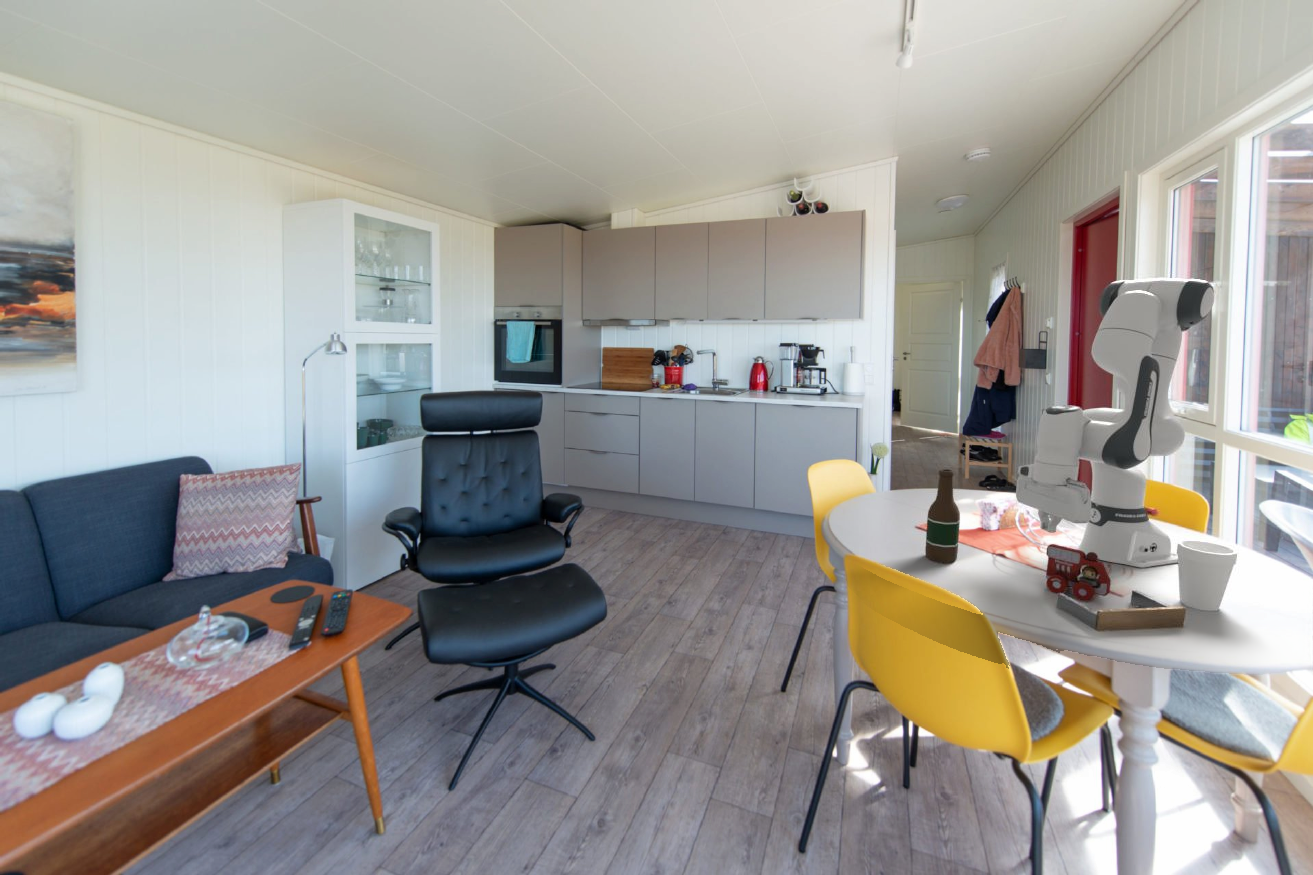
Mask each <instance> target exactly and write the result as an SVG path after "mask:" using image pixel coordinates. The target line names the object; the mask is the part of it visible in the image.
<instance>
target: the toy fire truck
mask: <svg viewBox="0 0 1313 875" xmlns="http://www.w3.org/2000/svg"><path fill="white" fill-rule="evenodd" d="M1046 556H1047V565H1046V574H1045V579H1046V587H1047V589H1048V590H1049V591H1050V592H1052V593H1054V594H1057V595H1058V593H1063V594H1065V592H1067V591H1068V590H1069V588H1072V589H1071V591H1072V595H1073V596H1074V597H1075V598H1076V599H1077V600H1079V601H1082V602H1090V601H1092V600H1093V599H1094V598H1095V596H1101V597H1106V596H1108V595H1109V594H1110V592H1111V591H1110V589H1111V582H1112V580H1111V578H1110V576H1109V572H1108V571H1107V568H1106V567H1105V564H1104V563H1103V562H1102V560H1099V559H1098V556H1097V554H1096V553H1094V552H1089V553H1088V554H1087V555H1085V553H1084V552H1083V551H1081V550H1078V549H1076V548H1072V547H1071V548H1070V547H1067V546H1062V545H1059V544H1055V543H1050V544H1049V545H1047V547H1046ZM1080 575H1081V576H1080ZM1078 578H1079V579H1078Z"/></svg>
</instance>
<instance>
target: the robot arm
mask: <svg viewBox="0 0 1313 875" xmlns="http://www.w3.org/2000/svg"><path fill="white" fill-rule="evenodd" d="M1214 301H1215V291H1214V286H1212V284H1211V283H1210V282H1209V281H1206V280H1203V279H1198V278H1197V279H1195V278H1190V279H1185V278H1173V277H1172V278H1169V277H1166V278H1165V277H1157V278H1146V279H1133V280H1129V279H1123V280H1115V281H1113V282H1111V283H1110V284H1108V285H1107V286H1105V288H1104V289H1103V290H1102V292H1101V294H1100V297H1099V300H1098V312H1099V314H1100V316H1101V317H1102V320H1101V322H1100V324H1099V327H1098V329H1097V332H1096V334H1095V336H1094V339H1093V342H1092V344H1091V357H1092V360H1093V361H1094V362H1095V364H1096V365H1097V366H1098V367H1099V368H1101V369H1102V370H1103V371H1105V372H1107V373H1109V374H1111V375H1113V376H1114V378H1113V384H1114V387H1115V388H1116V390H1118V391H1119V392H1120V393H1122V394H1123V396H1124V398H1125V407H1124V409H1120V408H1111V407H1098V408H1097V407H1096V408H1095V407H1094V408H1088V409H1084V410H1083V409H1082V407H1080V406H1077V405H1067V404H1065V405H1052V406H1050V407H1047V408H1046V409H1044V410H1043V412H1042V415H1041V417H1040V420H1039V423H1038V428H1037V434H1036V445H1037V446H1036V447H1037V452H1036V455H1035V457H1034V460H1033V463H1031V464H1026V465H1020V466H1018V470H1017V473H1018V475H1019V476H1018V478H1017V480H1016V489H1015V498H1016V501H1017V502H1018V503H1020V504H1022V505H1026V506H1027V507H1030V508H1033V509H1035V510H1037V515H1038V519H1039V521H1040V529H1041V530H1043V531H1045V532H1047V533H1051V534H1055V533H1056V532H1057V527H1058V525H1059V524H1060V523H1061V522H1062V521H1063V520H1064V521H1067V522H1070V523H1072V524H1086V527H1085V530H1084V533H1083V535H1082V536H1083V537H1082V539H1081V542H1080V544H1079V545H1078V549H1077V550H1081V551H1083V552H1084V553H1085V555H1086V556H1087V554H1088V553H1089V552H1094V553H1096V554H1097V556H1098V560H1099V561H1105V562H1109V563H1114V564H1123V565H1127V566H1130V567H1135V568H1147V567H1148V568H1149V567H1154V566H1155V567H1156V566H1162V565H1169V564H1178V554H1177V553H1175V552H1173V551H1172V542H1171V538H1170V537H1169V535H1168V534H1167V533H1166V532H1164V531H1163V530H1162V529H1161V528H1159V527H1158V526H1156V525H1155V524H1154V523H1153V522H1151V521H1150V517H1149V516H1151V517H1158V515H1159V514H1160V511H1159V509H1158V508H1153V507H1146V506H1145V496H1146V490H1147V489H1146V488H1147V478H1146V475H1145V474H1144V472H1143V471H1141V469H1139V468H1138V467H1137V466H1138V465H1140V464H1142V463H1143V462H1145V461H1146V460H1147V459H1148V457H1167V456H1168V457H1169V456H1171V455H1173V454H1175V453H1176V452H1177V451H1179V449H1180V448H1181V447H1182V445H1183V443H1184V441H1185V438H1186V437H1185V436H1186V435H1185V432H1186V431H1185V428H1184V426H1183V424H1182V423H1181V421H1180V420H1179V419H1178V418H1177V417H1176V415H1175V414H1173V412H1172V409H1171V407H1170V402H1169V391H1170V390H1169V388H1170V385H1171V381H1172V376H1173V373H1174V371H1175V367H1176V365H1177V361H1178V358H1179V354H1180V351H1181V350H1180V349H1181V346H1182V340H1183V333H1184V332H1186V331H1188V330H1189V329H1190V328H1191V327H1193V326H1197V325H1198V324H1199V323H1201V322H1202V321H1204V319H1206V318H1207V316H1208V315H1209V314H1210V311H1211V310H1212V308H1213V306H1214V303H1215V302H1214ZM1080 460H1085V461H1089V462H1090V465H1091V472H1092V479H1091V480H1092V481H1091V484H1092V485H1091V490H1090V489H1089V487H1088V486H1087V485H1086V483H1085V482H1082V481H1078V478H1079V469H1080Z"/></svg>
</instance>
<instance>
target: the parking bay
mask: <svg viewBox="0 0 1313 875" xmlns="http://www.w3.org/2000/svg"><path fill="white" fill-rule="evenodd" d="M1130 604H1131V605H1133V604H1134V606H1135V607H1137V606H1138V608H1119V609H1118V608H1117V609H1097V610H1094V609H1092V608H1090V607H1089V606H1086V605H1084V604H1082V603H1081V602H1079V601H1078V600H1076V599H1074V598H1072V597H1070V596H1068V595H1066V594H1065V593H1058V594H1057V599H1056V608H1058V609H1060V610H1061V611H1063V612H1065V613H1067V614H1068V615H1070V616H1072V617H1074V618H1075V619H1077V620H1079V621H1080V622H1082V623H1083V624H1085V625H1087V626H1089V627H1090V628H1093V629H1094V630H1096V631H1098V632H1104V631H1105V630H1106V631H1107V630H1109V631H1126V630H1127V631H1128V630H1129V631H1130V629H1131V630H1150V629H1151V630H1152V629H1169V628H1173V629H1174V628H1184V626H1185V618H1186V611H1187V608H1186V607H1184V606H1182V605H1181V606H1171V605H1169V604H1167V603H1165V602H1163V601H1161V600H1159V599H1157V598H1155V597H1152V596H1151V595H1148V594H1146V593H1144V592H1141V591H1139V590H1137V589H1132V590H1131V598H1130ZM1106 631H1105V632H1106Z"/></svg>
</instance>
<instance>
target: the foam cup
mask: <svg viewBox="0 0 1313 875" xmlns="http://www.w3.org/2000/svg"><path fill="white" fill-rule="evenodd" d="M1238 551H1239V550H1236V549H1235V548H1234V547H1232V546H1231V547H1230V546H1227V545H1225V544H1221V543H1216V542H1213V541H1207V540H1197V539H1183V540H1178V542H1177V546H1176V554H1177V555H1178V562H1177V568H1178V587H1179V588H1178V590H1179V602H1180V603H1181V604H1183V605H1185V606H1187V607H1189V608H1193V609H1196V610H1202V611H1207V612H1208V611H1209V612H1215V611H1218V610H1219V608H1220V607H1221V603H1222V601H1223V598H1224V595H1225V592H1226V589H1227V586H1228V583H1229V580H1230V577H1231V575H1232V572H1233V568H1234V566H1236V564H1237V559H1238Z"/></svg>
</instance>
